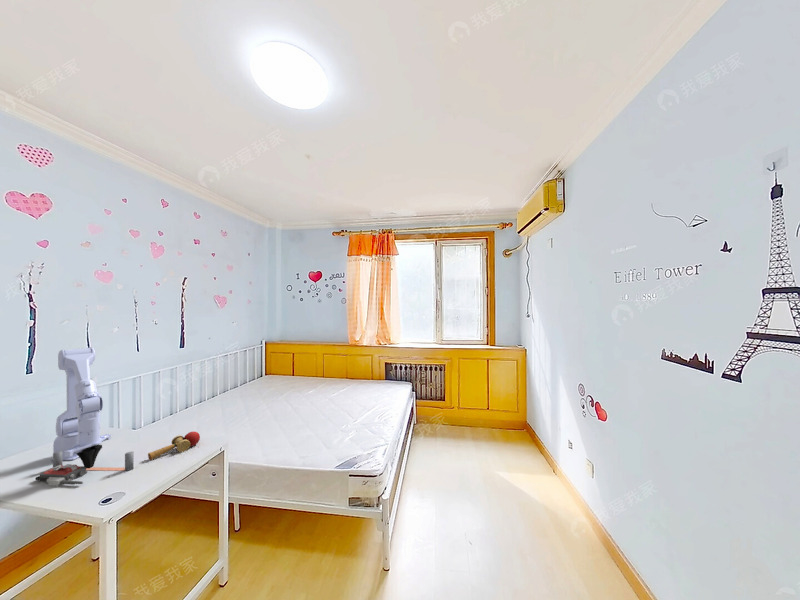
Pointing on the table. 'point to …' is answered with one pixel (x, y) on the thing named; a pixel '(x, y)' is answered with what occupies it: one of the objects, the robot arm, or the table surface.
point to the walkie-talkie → (62, 475)
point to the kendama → (178, 444)
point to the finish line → (128, 466)
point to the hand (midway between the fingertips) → (89, 467)
